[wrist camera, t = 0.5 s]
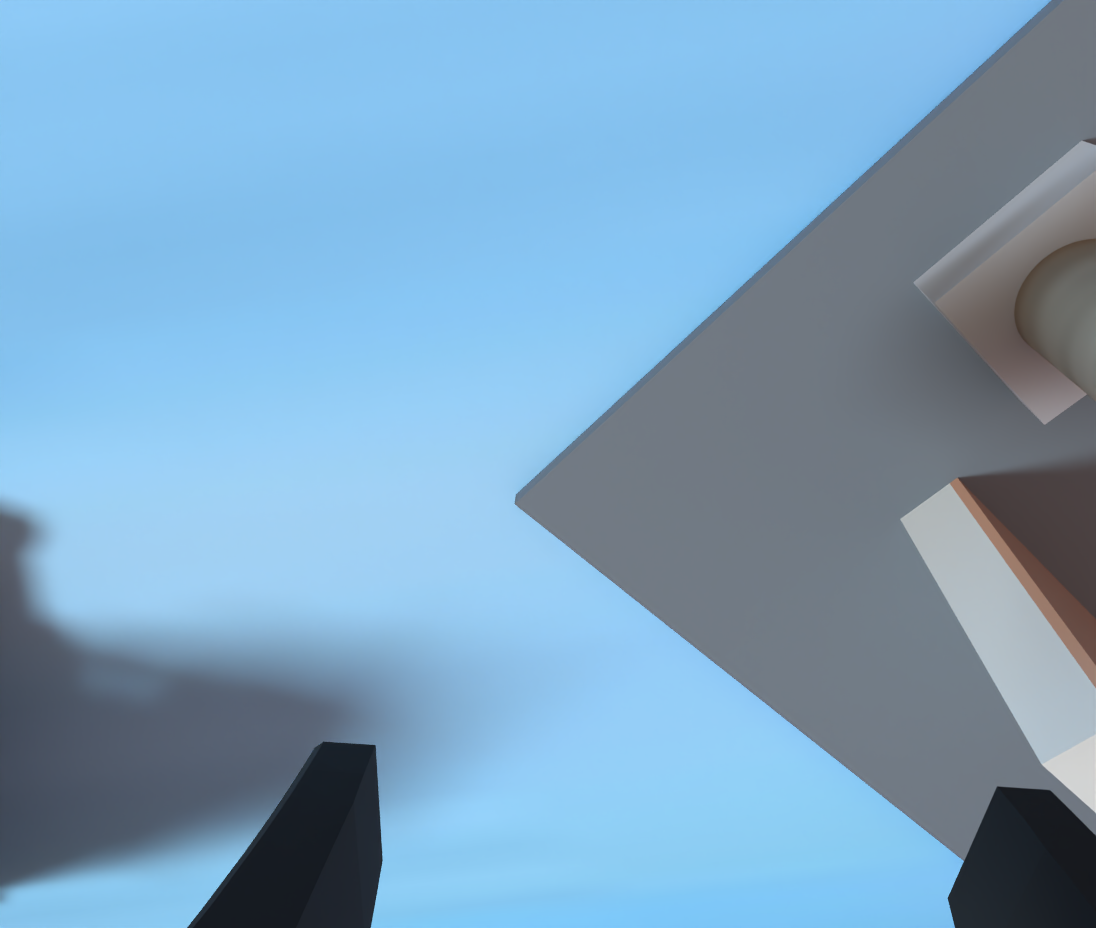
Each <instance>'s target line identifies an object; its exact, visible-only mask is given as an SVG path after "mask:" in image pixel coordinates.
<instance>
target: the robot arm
mask: <svg viewBox="0 0 1096 928" xmlns="http://www.w3.org/2000/svg"><path fill="white" fill-rule="evenodd" d="M381 866H382V844H381V827H380V811H379V795H378V778H377V762H376V746H375V745H364V744H349V743H334V742H323V743H321V744H320V745H318V746H317V747H315V748H314V750H313V751H312V753H311V755H310V756H309V758H308V760H307V761H306V763H305V764H304V766H303V768H302V769H301V771H300V772H299V774H298V775H297V777H296V779H295V780H294V782H293V783H292V785H291V786H290V788H289V789H288V791H287V792H286V794H285V795H284V797H283V798H282V800H281V801H280V803H279V804H278V806H277V807H276V809H275V810H274V812H273V813H272V815H271V816H270V817H269V819H268V820H267V822H266V823H265V825H264V826H263V827H262V829H261V830H260V832H259V833H258V834H257V836H256V837H255V839H254V840H253V842H252V843H251V844H250V846H249V847H248V849H247V850H246V851H245V853H244V854H243V855H242V857H241V858H240V859H239V861H238V862H237V863H236V865H235V866H234V867H233V869H232V870H231V871H230V873H229V874H228V875H227V877H226V878H225V879H224V881H223V882H222V883H221V885H220V886H219V887H218V889H217V890H216V891H215V892H214V894H213V895H212V896H211V898H210V899H209V900H208V902H207V903H206V904H205V906H204V907H203V908H202V910H201V911H200V912H199V914H198V915H197V916H196V917H195V919H194V920H193V921H192V922H191V924H190V925H189V926H188V927H187V928H371V923H372V917H373V912H374V906H375V900H376V895H377V889H378V883H379V878H380V872H381ZM948 901H949V905H950V909H951V913H952V917H953V921H954V925H955V928H1096V835H1095V834H1094V833H1093V832H1092V831H1091V830H1090V829H1089V828H1088V827H1087V826H1086V825H1085V824H1084V823H1083V822H1082V821H1081V820H1080V819H1079V818H1078V817H1077V816H1076V815H1075V814H1074V813H1073V812H1072V811H1071V810H1070V809H1069V808H1068V807H1067V806H1066V805H1065V804H1064V803H1063V802H1062V801H1061V800H1060V799H1059V798H1058V797H1057V796H1056V795H1055V794H1054V793H1053V792H1052V791H1051V790H1044V789H1029V788H1014V787H999V786H997V788H996V790H995V792H994V794H993V797H992V799H991V801H990V803H989V806H988V808H987V810H986V813H985V815H984V817H983V819H982V822H981V824H980V826H979V828H978V831H977V833H976V835H975V838H974V840H973V842H972V844H971V847H970V849H969V851H968V853H967V856H966V858H965V860H964V863H963V865H962V867H961V869H960V872H959V874H958V876H957V878H956V881H955V883H954V885H953V888H952V890H951V892H950V894H949V897H948Z"/></svg>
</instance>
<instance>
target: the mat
mask: <svg viewBox="0 0 1096 928" xmlns="http://www.w3.org/2000/svg"><path fill="white" fill-rule="evenodd" d="M1081 141H1085V142H1088V143H1090V144H1093V145H1096V0H1052V1H1051V2H1049V3H1048V4H1047V5H1046V6H1045V7H1044V8H1043V9H1042V10H1041V11H1040V12H1039V13H1038V14H1036V15H1035V16H1034V17H1033V18H1032V19H1031V20H1030V21H1029V22H1028V23H1027V24H1026V25H1025V26H1023V27H1022V28H1021V29H1020V30H1019V31H1018V32H1017V33H1016V34H1015V35H1014V36H1013V37H1012V38H1010V39H1009V40H1008V41H1007V42H1006V43H1005V44H1004V45H1003V46H1002V47H1001V48H1000V49H999V50H997V51H996V52H995V53H994V54H993V55H992V56H991V57H990V58H989V59H988V60H987V61H986V62H984V63H983V64H982V65H981V66H980V67H979V68H978V69H977V70H976V71H975V72H974V73H973V74H971V75H970V76H969V77H968V78H967V79H966V80H965V81H964V82H963V83H962V84H961V85H960V86H958V87H957V88H956V89H955V90H954V91H953V92H952V93H951V94H950V95H949V96H948V97H947V98H945V99H944V100H943V101H942V102H941V103H940V104H939V105H938V106H937V107H936V108H935V109H934V110H932V111H931V112H930V113H929V114H928V115H927V116H926V117H925V118H924V119H923V120H922V121H921V122H919V123H918V124H917V125H916V126H915V127H914V128H913V129H912V130H911V131H910V132H909V133H908V134H906V135H905V136H904V137H903V138H902V139H901V140H900V141H899V142H898V143H897V144H896V145H895V146H893V147H892V148H891V149H890V150H889V151H888V152H887V153H886V154H885V155H884V156H883V157H882V158H880V159H879V160H878V161H877V162H876V163H875V164H874V165H873V166H872V167H871V168H870V169H868V170H867V171H866V172H865V173H864V174H863V175H862V176H861V177H860V178H859V179H858V180H857V181H855V182H854V183H853V184H852V185H851V186H850V187H849V188H848V189H847V190H846V191H845V192H844V193H842V194H841V195H840V196H839V197H838V198H837V199H836V200H835V201H834V202H833V203H832V204H831V205H829V206H828V207H827V208H826V209H825V210H824V211H823V212H822V213H821V214H820V215H819V216H818V217H816V218H815V219H814V220H813V221H812V222H811V223H810V224H809V225H808V226H807V227H806V228H805V229H803V230H802V231H801V232H800V233H799V234H798V235H797V236H796V237H795V238H794V239H793V240H792V241H790V242H789V243H788V244H787V245H786V246H785V247H784V248H783V249H782V250H781V251H780V252H779V253H777V254H776V255H775V256H774V257H773V258H772V259H771V260H770V261H769V262H768V263H767V264H766V265H764V266H763V267H762V268H761V269H760V270H759V271H758V272H757V273H756V274H755V275H754V276H753V277H751V278H750V279H749V280H748V281H747V282H746V283H745V284H744V285H743V286H742V287H741V288H740V289H738V290H737V291H736V292H735V293H734V294H733V295H732V296H731V297H730V298H729V299H728V300H727V301H725V302H724V303H723V304H722V305H721V306H720V307H719V308H718V309H717V310H716V311H715V312H714V313H712V314H711V315H710V316H709V317H708V318H707V319H706V320H705V321H704V322H703V323H702V324H701V325H699V326H698V327H697V328H696V329H695V330H694V331H693V332H692V333H691V334H690V335H689V336H688V337H686V338H685V339H684V340H683V341H682V342H681V343H680V344H679V345H678V346H677V347H676V348H675V349H673V350H672V351H671V352H670V353H669V354H668V355H667V356H666V357H665V358H664V359H663V360H662V361H660V362H659V363H658V364H657V365H656V366H655V367H654V368H653V369H652V370H651V371H650V372H649V373H647V374H646V375H645V376H644V377H643V378H642V379H641V380H640V381H639V382H638V383H637V384H636V385H634V386H633V387H632V388H631V389H630V390H629V391H628V392H627V393H626V394H625V395H624V396H623V397H621V398H620V399H619V400H618V401H617V402H616V403H615V404H614V405H613V406H612V407H611V408H610V409H608V410H607V411H606V412H605V413H604V414H603V415H602V416H601V417H600V418H599V419H598V420H597V421H595V422H594V423H593V424H592V425H591V426H590V427H589V428H588V429H587V430H586V431H585V432H584V433H582V434H581V435H580V436H579V437H578V438H577V439H576V440H575V441H574V442H573V443H572V444H571V445H569V446H568V447H567V448H566V449H565V450H564V451H563V452H562V453H561V454H560V455H559V456H557V457H556V458H555V459H554V460H553V461H552V462H551V463H550V464H549V465H548V466H547V467H546V468H544V469H543V470H542V471H541V472H540V473H539V474H538V475H537V476H536V477H535V478H534V479H533V480H531V481H530V482H529V483H528V484H527V485H526V486H525V487H524V488H523V489H522V490H521V491H520V492H518V493H517V494H516V498H515V505H517V506H518V507H519V508H520V509H522V510H523V511H524V512H525V513H527V514H528V515H529V516H530V517H532V518H533V519H534V520H535V521H537V522H538V523H539V524H540V525H542V526H543V527H544V528H545V529H547V530H548V531H549V532H551V533H552V534H553V535H554V536H556V537H557V538H558V539H559V540H561V541H562V542H563V543H564V544H566V545H567V546H568V547H569V548H571V549H572V550H573V551H574V552H576V553H577V554H578V555H579V556H581V557H582V558H583V559H585V560H586V561H587V562H588V563H590V564H591V565H592V566H593V567H595V568H596V569H597V570H598V571H600V572H601V573H602V574H603V575H605V576H606V577H607V578H608V579H610V580H611V581H612V582H613V583H615V584H616V585H617V586H619V587H620V588H621V589H622V590H624V591H625V592H626V593H627V594H629V595H630V596H631V597H632V598H634V599H635V600H636V601H637V602H639V603H640V604H641V605H642V606H644V607H645V608H646V609H647V610H649V611H650V612H651V613H652V614H654V615H655V616H656V617H658V618H659V619H660V620H661V621H663V622H664V623H665V624H666V625H668V626H669V627H670V628H671V629H673V630H674V631H675V632H676V633H678V634H679V635H680V636H681V637H683V638H684V639H685V640H686V641H688V642H689V643H690V644H692V645H693V646H694V647H695V648H697V649H698V650H699V651H700V652H702V653H703V654H704V655H705V656H707V657H708V658H709V659H710V660H712V661H713V662H714V663H715V664H717V665H718V666H719V667H720V668H722V669H723V670H724V671H726V672H727V673H728V674H729V675H731V676H732V677H733V678H734V679H736V680H737V681H738V682H739V683H741V684H742V685H743V686H744V687H746V688H747V689H748V690H749V691H751V692H752V693H753V694H754V695H756V696H757V697H758V698H759V699H761V700H762V701H763V702H765V703H766V704H767V705H768V706H770V707H771V708H772V709H773V710H775V711H776V712H777V713H778V714H780V715H781V716H782V717H783V718H785V719H786V720H787V721H788V722H790V723H791V724H792V725H793V726H795V727H796V728H797V729H799V730H800V731H801V732H802V733H804V734H805V735H806V736H807V737H809V738H810V739H811V740H812V741H814V742H815V743H816V744H817V745H819V746H820V747H821V748H822V749H824V750H825V751H826V752H827V753H829V754H830V755H831V756H833V757H834V758H835V759H836V760H838V761H839V762H840V763H841V764H843V765H844V766H845V767H846V768H848V769H849V770H850V771H851V772H853V773H854V774H855V775H856V776H858V777H859V778H860V779H861V780H863V781H864V782H865V783H866V784H868V785H869V786H870V787H872V788H873V789H874V790H875V791H877V792H878V793H879V794H880V795H882V796H883V797H884V798H885V799H887V800H888V801H889V802H890V803H892V804H893V805H894V806H895V807H897V808H898V809H899V810H900V811H902V812H903V813H904V814H906V815H907V816H908V817H909V818H911V819H912V820H913V821H914V822H916V823H917V824H918V825H919V826H921V827H922V828H923V829H924V830H926V831H927V832H928V833H929V834H931V835H932V836H933V837H934V838H936V839H937V840H938V841H940V842H941V843H942V844H943V845H945V846H946V847H947V848H948V849H950V850H951V851H952V852H953V853H955V854H956V855H957V856H958V857H960V858H961V859H962V860H963V861H964V860H965V858H966V856H967V853H968V851H969V849H970V847H971V844H972V842H973V840H974V838H975V835H976V833H977V831H978V828H979V826H980V824H981V822H982V819H983V817H984V815H985V813H986V810H987V808H988V806H989V803H990V801H991V799H992V797H993V794H994V792H995V790H996V788H997V786H999V787H1014V788H1029V789H1044V790H1051V791H1052V792H1053V793H1054V794H1055V795H1056V796H1057V797H1058V798H1059V799H1060V800H1061V801H1062V802H1063V803H1064V804H1065V805H1066V806H1067V807H1068V808H1069V809H1070V810H1071V811H1072V812H1073V813H1074V814H1075V815H1076V816H1077V817H1078V818H1079V819H1080V820H1081V821H1082V822H1083V823H1084V824H1085V825H1086V826H1087V827H1088V828H1089V829H1090V830H1091V831H1092V832H1093V833H1094V834H1095V835H1096V813H1095V812H1094V811H1093V810H1092V809H1091V808H1090V807H1089V806H1087V805H1086V804H1085V803H1084V802H1083V801H1082V800H1081V799H1080V798H1078V797H1077V796H1076V795H1075V794H1074V793H1073V792H1072V791H1071V790H1070V789H1068V788H1067V787H1066V786H1065V785H1064V784H1063V783H1062V782H1061V781H1059V780H1058V779H1057V778H1056V777H1055V776H1054V775H1053V774H1052V773H1051V772H1049V771H1048V770H1047V769H1046V768H1045V767H1044V766H1043V765H1042V764H1041V763H1040V761H1039V759H1038V758H1037V756H1036V754H1035V752H1034V751H1033V749H1032V747H1031V745H1030V744H1029V742H1028V740H1027V738H1026V737H1025V735H1024V733H1023V731H1022V730H1021V728H1020V726H1019V725H1018V723H1017V721H1016V719H1015V718H1014V716H1013V714H1012V712H1011V711H1010V709H1009V707H1008V705H1007V704H1006V702H1005V700H1004V698H1003V697H1002V695H1001V693H1000V692H999V690H998V688H997V686H996V685H995V683H994V681H993V679H992V678H991V676H990V674H989V672H988V671H987V669H986V667H985V665H984V664H983V662H982V660H981V659H980V657H979V655H978V653H977V652H976V650H975V648H974V646H973V645H972V643H971V641H970V639H969V638H968V636H967V634H966V633H965V631H964V629H963V627H962V626H961V624H960V622H959V620H958V619H957V617H956V615H955V613H954V612H953V610H952V608H951V606H950V605H949V603H948V601H947V600H946V598H945V596H944V594H943V593H942V591H941V589H940V587H939V586H938V584H937V582H936V580H935V579H934V577H933V575H932V573H931V572H930V570H929V568H928V567H927V565H926V563H925V561H924V560H923V558H922V556H921V554H920V553H919V551H918V549H917V547H916V546H915V544H914V542H913V540H912V539H911V537H910V535H909V534H908V532H907V530H906V528H905V527H904V525H903V523H902V521H901V520H900V519H901V518H902V517H904V516H905V515H906V514H908V513H909V512H911V511H912V510H913V509H915V508H916V507H918V506H919V505H920V504H922V503H923V502H924V501H926V500H927V499H929V498H930V497H931V496H933V495H934V494H935V493H937V492H938V491H940V490H941V489H942V488H944V487H945V486H946V485H948V484H949V483H951V482H952V481H953V480H955V479H956V478H958V479H959V480H960V481H961V482H962V483H963V484H964V485H965V486H966V487H967V488H968V489H969V490H970V491H971V492H972V493H973V494H974V495H975V496H976V497H977V498H978V499H979V500H980V501H981V502H982V503H983V504H984V505H985V506H986V507H987V508H988V509H989V510H990V511H991V512H992V513H993V514H994V516H995V517H996V518H997V519H998V520H999V521H1000V522H1001V523H1002V524H1003V525H1004V526H1005V527H1006V528H1007V529H1008V530H1009V531H1010V532H1011V533H1012V534H1013V535H1014V536H1015V537H1016V538H1017V539H1018V540H1019V541H1020V542H1021V543H1022V544H1023V545H1024V546H1025V547H1026V548H1027V549H1028V550H1029V551H1030V552H1031V553H1032V554H1033V555H1034V556H1035V557H1036V558H1037V559H1038V560H1039V561H1040V562H1041V564H1042V565H1043V566H1044V567H1045V568H1046V569H1047V570H1048V571H1049V572H1050V573H1051V574H1052V575H1053V576H1054V577H1055V578H1056V579H1057V580H1058V581H1059V582H1060V583H1061V584H1062V585H1063V586H1064V587H1065V588H1066V589H1067V590H1068V591H1069V592H1070V593H1071V594H1072V595H1073V596H1074V597H1075V598H1076V599H1077V600H1078V601H1079V602H1080V603H1081V604H1082V605H1083V606H1084V607H1085V608H1086V609H1087V610H1088V612H1089V613H1090V614H1091V615H1092V616H1093V617H1094V618H1095V619H1096V401H1095V400H1093V399H1092V398H1091V397H1090V396H1089V395H1085V396H1084V397H1083V398H1081V399H1080V400H1078V401H1077V402H1076V403H1074V404H1073V405H1071V406H1070V407H1069V408H1067V409H1066V410H1065V411H1063V412H1062V413H1060V414H1059V415H1058V416H1056V417H1055V418H1053V419H1052V420H1051V421H1049V422H1048V423H1047V424H1045V425H1044V424H1043V423H1042V422H1041V421H1040V420H1039V419H1038V418H1037V417H1036V416H1035V415H1034V414H1033V413H1032V412H1031V411H1030V410H1029V409H1028V408H1027V407H1026V406H1025V405H1024V404H1023V403H1022V402H1021V401H1020V400H1019V399H1018V398H1017V397H1016V396H1015V395H1014V394H1013V393H1012V392H1011V390H1010V389H1009V388H1008V387H1007V386H1006V385H1005V384H1004V383H1003V382H1002V380H1001V379H1000V378H999V377H998V376H997V375H996V374H995V373H994V372H993V370H992V369H991V368H990V367H989V366H988V365H987V364H986V363H985V362H984V360H983V359H982V358H981V357H980V356H979V355H978V354H977V353H976V352H975V351H974V349H973V348H972V347H971V346H970V345H969V344H968V343H967V342H966V341H965V339H964V338H963V337H962V336H961V335H960V334H959V333H958V332H957V331H956V329H955V328H954V327H953V326H952V325H951V324H950V323H949V322H948V321H947V319H946V318H945V317H944V316H943V315H942V314H941V313H940V312H939V311H938V309H937V308H936V307H935V306H934V305H933V304H932V303H931V302H930V301H929V300H928V298H927V297H926V296H925V295H924V294H923V293H922V292H921V291H920V290H919V288H918V287H917V286H916V285H915V284H914V283H913V282H914V281H916V280H917V279H918V278H919V277H920V276H922V275H923V274H924V273H925V272H926V271H927V270H929V269H930V268H931V267H932V266H933V265H935V264H936V263H937V262H938V261H939V260H941V259H942V258H943V257H944V256H945V255H946V254H948V253H949V252H950V251H951V250H952V249H954V248H955V247H956V246H957V245H958V244H960V243H961V242H962V241H963V240H964V239H965V238H967V237H968V236H969V235H970V234H971V233H973V232H974V231H975V230H976V229H977V228H978V227H980V226H981V225H982V224H983V223H984V222H986V221H987V220H988V219H989V218H990V217H992V216H993V215H994V214H995V213H996V212H997V211H999V210H1000V209H1001V208H1002V207H1003V206H1005V205H1006V204H1007V203H1008V202H1009V201H1011V200H1012V199H1013V198H1014V197H1015V196H1016V195H1018V194H1019V193H1020V192H1021V191H1022V190H1024V189H1025V188H1026V187H1027V186H1028V185H1030V184H1031V183H1032V182H1033V181H1034V180H1035V179H1037V178H1038V177H1039V176H1040V175H1041V174H1043V173H1044V172H1045V171H1046V170H1047V169H1048V168H1050V167H1051V166H1052V165H1053V164H1054V163H1056V162H1057V161H1058V160H1059V159H1060V158H1062V157H1063V156H1064V155H1065V154H1066V153H1067V152H1069V151H1070V150H1071V149H1072V148H1073V147H1075V146H1076V145H1077V144H1078V143H1079V142H1081Z"/></svg>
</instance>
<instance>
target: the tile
mask: <svg viewBox="0 0 1096 928" xmlns="http://www.w3.org/2000/svg"><path fill="white" fill-rule="evenodd" d="M900 520H901V521H902V523H903V525H904V527H905V528H906V530H907V532H908V534H909V535H910V537H911V539H912V540H913V542H914V544H915V546H916V547H917V549H918V551H919V553H920V554H921V556H922V558H923V560H924V561H925V563H926V565H927V567H928V568H929V570H930V572H931V573H932V575H933V577H934V579H935V580H936V582H937V584H938V586H939V587H940V589H941V591H942V593H943V594H944V596H945V598H946V600H947V601H948V603H949V605H950V606H951V608H952V610H953V612H954V613H955V615H956V617H957V619H958V620H959V622H960V624H961V626H962V627H963V629H964V631H965V633H966V634H967V636H968V638H969V639H970V641H971V643H972V645H973V646H974V648H975V650H976V652H977V653H978V655H979V657H980V659H981V660H982V662H983V664H984V665H985V667H986V669H987V671H988V672H989V674H990V676H991V678H992V679H993V681H994V683H995V685H996V686H997V688H998V690H999V692H1000V693H1001V695H1002V697H1003V698H1004V700H1005V702H1006V704H1007V705H1008V707H1009V709H1010V711H1011V712H1012V714H1013V716H1014V718H1015V719H1016V721H1017V723H1018V725H1019V726H1020V728H1021V730H1022V731H1023V733H1024V735H1025V737H1026V738H1027V740H1028V742H1029V744H1030V745H1031V747H1032V749H1033V751H1034V752H1035V754H1036V756H1037V758H1038V759H1039V761H1040V763H1041V764H1042V765H1043V766H1044V767H1045V768H1046V769H1047V770H1048V771H1049V772H1051V773H1052V774H1053V775H1054V776H1055V777H1056V778H1057V779H1058V780H1059V781H1061V782H1062V783H1063V784H1064V785H1065V786H1066V787H1067V788H1068V789H1070V790H1071V791H1072V792H1073V793H1074V794H1075V795H1076V796H1077V797H1078V798H1080V799H1081V800H1082V801H1083V802H1084V803H1085V804H1086V805H1087V806H1089V807H1090V808H1091V809H1092V810H1093V811H1094V812H1095V813H1096V619H1095V618H1094V617H1093V616H1092V615H1091V614H1090V613H1089V612H1088V610H1087V609H1086V608H1085V607H1084V606H1083V605H1082V604H1081V603H1080V602H1079V601H1078V600H1077V599H1076V598H1075V597H1074V596H1073V595H1072V594H1071V593H1070V592H1069V591H1068V590H1067V589H1066V588H1065V587H1064V586H1063V585H1062V584H1061V583H1060V582H1059V581H1058V580H1057V579H1056V578H1055V577H1054V576H1053V575H1052V574H1051V573H1050V572H1049V571H1048V570H1047V569H1046V568H1045V567H1044V566H1043V565H1042V564H1041V562H1040V561H1039V560H1038V559H1037V558H1036V557H1035V556H1034V555H1033V554H1032V553H1031V552H1030V551H1029V550H1028V549H1027V548H1026V547H1025V546H1024V545H1023V544H1022V543H1021V542H1020V541H1019V540H1018V539H1017V538H1016V537H1015V536H1014V535H1013V534H1012V533H1011V532H1010V531H1009V530H1008V529H1007V528H1006V527H1005V526H1004V525H1003V524H1002V523H1001V522H1000V521H999V520H998V519H997V518H996V517H995V516H994V514H993V513H992V512H991V511H990V510H989V509H988V508H987V507H986V506H985V505H984V504H983V503H982V502H981V501H980V500H979V499H978V498H977V497H976V496H975V495H974V494H973V493H972V492H971V491H970V490H969V489H968V488H967V487H966V486H965V485H964V484H963V483H962V482H961V481H960V480H959V479H958V478H956V479H955V480H953V481H952V482H951V483H949V484H948V485H946V486H945V487H944V488H942V489H941V490H940V491H938V492H937V493H935V494H934V495H933V496H931V497H930V498H929V499H927V500H926V501H924V502H923V503H922V504H920V505H919V506H918V507H916V508H915V509H913V510H912V511H911V512H909V513H908V514H906V515H905V516H904V517H902V518H901V519H900Z"/></svg>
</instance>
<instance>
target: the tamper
mask: <svg viewBox="0 0 1096 928" xmlns="http://www.w3.org/2000/svg"><path fill="white" fill-rule="evenodd" d="M913 283H914V284H915V285H916V286H917V287H918V288H919V290H920V291H921V292H922V293H923V294H924V295H925V296H926V297H927V298H928V300H929V301H930V302H931V303H932V304H933V305H934V306H935V307H936V308H937V309H938V311H939V312H940V313H941V314H942V315H943V316H944V317H945V318H946V319H947V321H948V322H949V323H950V324H951V325H952V326H953V327H954V328H955V329H956V331H957V332H958V333H959V334H960V335H961V336H962V337H963V338H964V339H965V341H966V342H967V343H968V344H969V345H970V346H971V347H972V348H973V349H974V351H975V352H976V353H977V354H978V355H979V356H980V357H981V358H982V359H983V360H984V362H985V363H986V364H987V365H988V366H989V367H990V368H991V369H992V370H993V372H994V373H995V374H996V375H997V376H998V377H999V378H1000V379H1001V380H1002V382H1003V383H1004V384H1005V385H1006V386H1007V387H1008V388H1009V389H1010V390H1011V392H1012V393H1013V394H1014V395H1015V396H1016V397H1017V398H1018V399H1019V400H1020V401H1021V402H1022V403H1023V404H1024V405H1025V406H1026V407H1027V408H1028V409H1029V410H1030V411H1031V412H1032V413H1033V414H1034V415H1035V416H1036V417H1037V418H1038V419H1039V420H1040V421H1041V422H1042V423H1043V424H1044V425H1045V424H1047V423H1048V422H1049V421H1051V420H1052V419H1053V418H1055V417H1056V416H1058V415H1059V414H1060V413H1062V412H1063V411H1065V410H1066V409H1067V408H1069V407H1070V406H1071V405H1073V404H1074V403H1076V402H1077V401H1078V400H1080V399H1081V398H1083V397H1084V396H1085V395H1089V396H1090V397H1091V398H1092V399H1093V400H1095V401H1096V145H1093V144H1090V143H1088V142H1085V141H1081V142H1079V143H1078V144H1077V145H1076V146H1075V147H1073V148H1072V149H1071V150H1070V151H1069V152H1067V153H1066V154H1065V155H1064V156H1063V157H1062V158H1060V159H1059V160H1058V161H1057V162H1056V163H1054V164H1053V165H1052V166H1051V167H1050V168H1048V169H1047V170H1046V171H1045V172H1044V173H1043V174H1041V175H1040V176H1039V177H1038V178H1037V179H1035V180H1034V181H1033V182H1032V183H1031V184H1030V185H1028V186H1027V187H1026V188H1025V189H1024V190H1022V191H1021V192H1020V193H1019V194H1018V195H1016V196H1015V197H1014V198H1013V199H1012V200H1011V201H1009V202H1008V203H1007V204H1006V205H1005V206H1003V207H1002V208H1001V209H1000V210H999V211H997V212H996V213H995V214H994V215H993V216H992V217H990V218H989V219H988V220H987V221H986V222H984V223H983V224H982V225H981V226H980V227H978V228H977V229H976V230H975V231H974V232H973V233H971V234H970V235H969V236H968V237H967V238H965V239H964V240H963V241H962V242H961V243H960V244H958V245H957V246H956V247H955V248H954V249H952V250H951V251H950V252H949V253H948V254H946V255H945V256H944V257H943V258H942V259H941V260H939V261H938V262H937V263H936V264H935V265H933V266H932V267H931V268H930V269H929V270H927V271H926V272H925V273H924V274H923V275H922V276H920V277H919V278H918V279H917V280H916V281H914V282H913Z"/></svg>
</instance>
